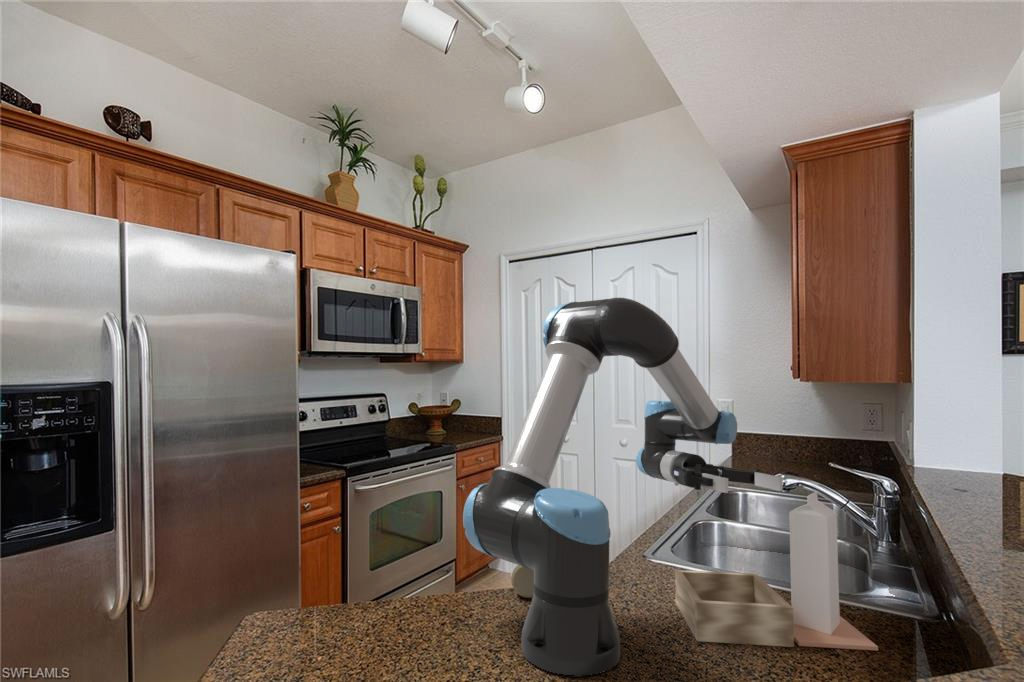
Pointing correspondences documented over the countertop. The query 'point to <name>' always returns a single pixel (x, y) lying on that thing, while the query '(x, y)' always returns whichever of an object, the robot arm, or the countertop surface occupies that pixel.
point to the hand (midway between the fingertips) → (754, 484)
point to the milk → (814, 566)
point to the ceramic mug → (522, 580)
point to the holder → (733, 608)
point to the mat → (834, 638)
